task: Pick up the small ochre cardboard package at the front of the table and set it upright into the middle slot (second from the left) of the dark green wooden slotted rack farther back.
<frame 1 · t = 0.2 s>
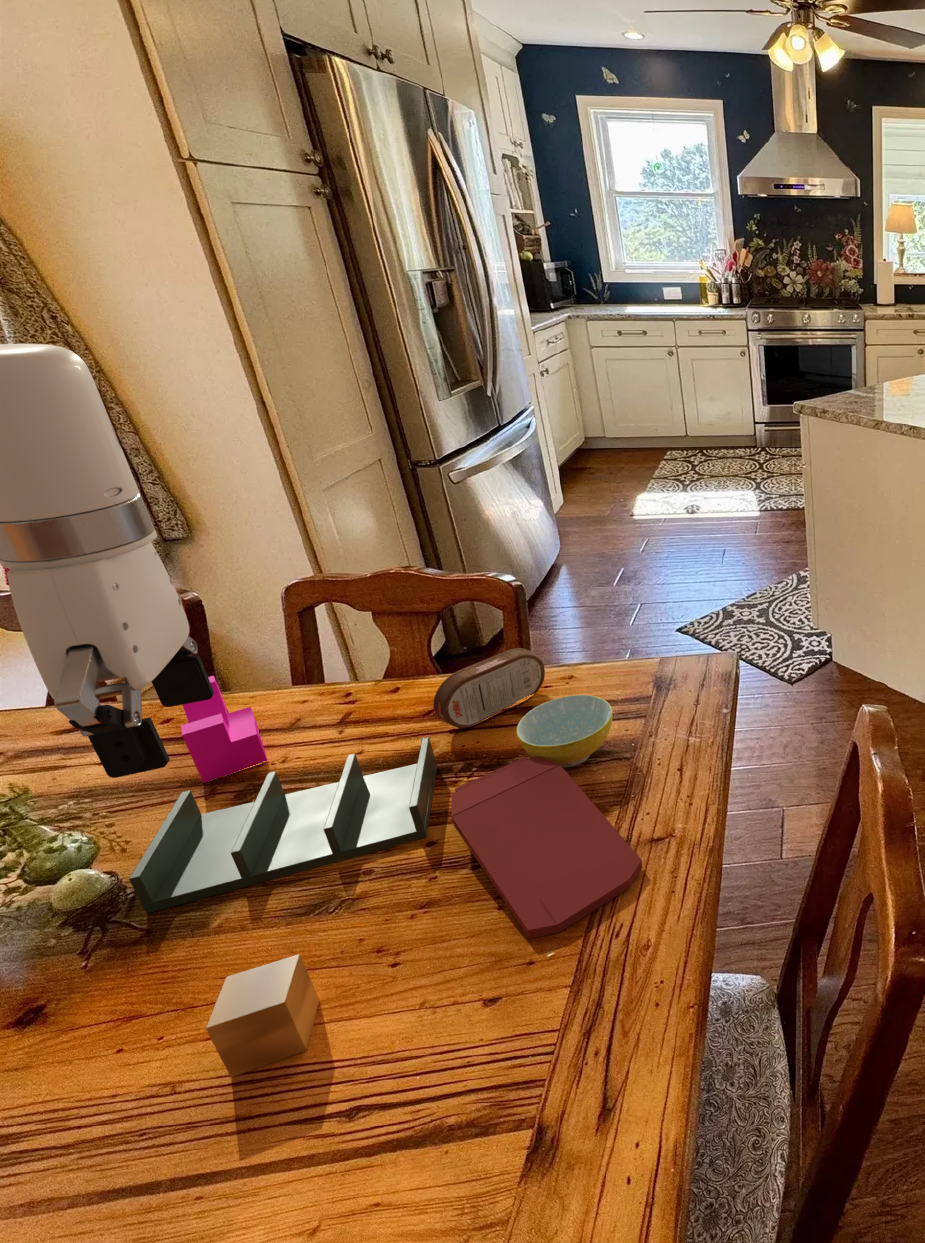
hand: (167, 733, 57), 28 cm above the table, tool pointing down, fingers open, 9 cm apart
package: (277, 1037, 63), on the table
bowl: (572, 758, 99), on the table
carton: (542, 850, 84), on the table
toy block: (231, 747, 99), on the table
tin: (499, 712, 108), on the table
rack: (310, 830, 85), on the table
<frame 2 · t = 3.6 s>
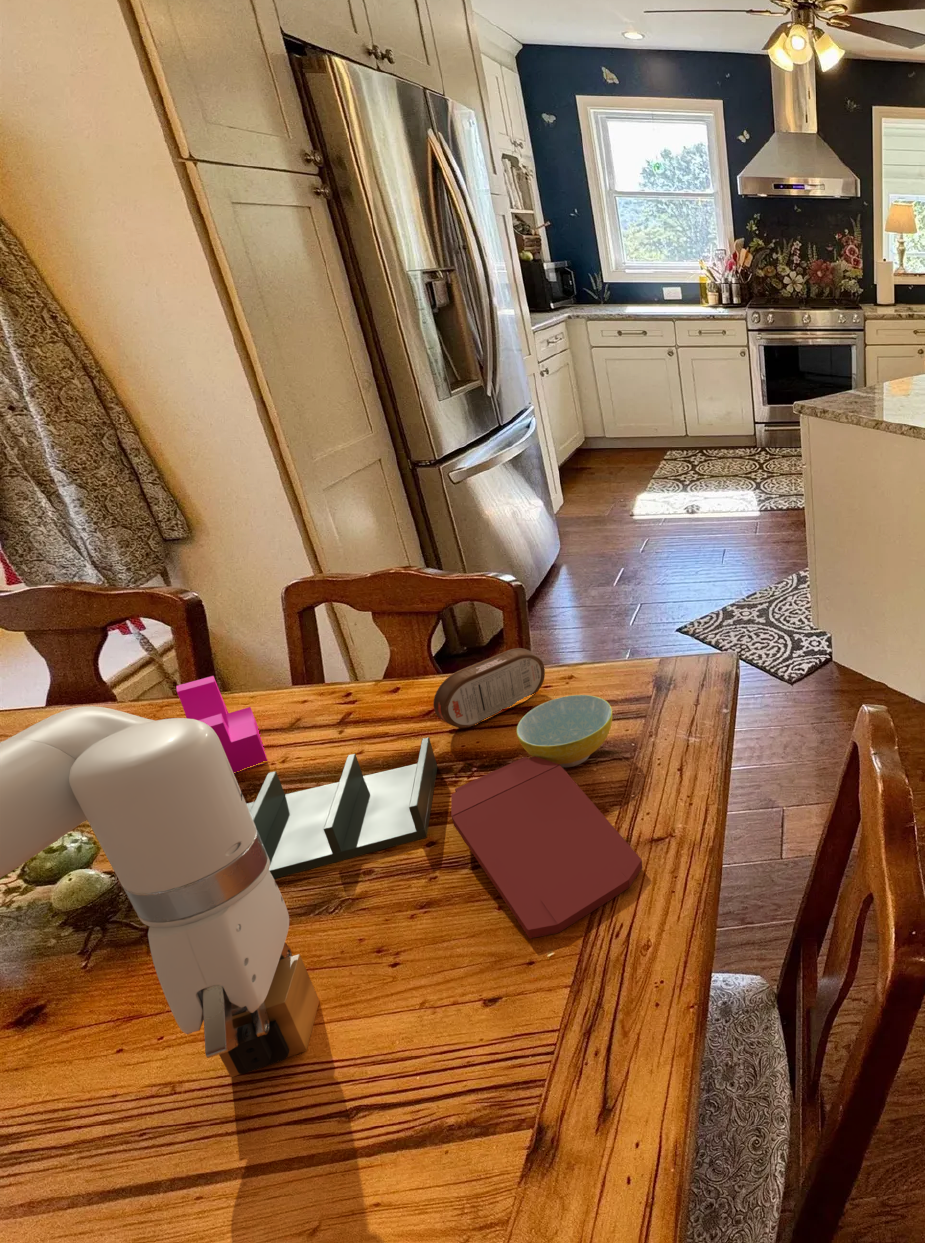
hand: (274, 1031, 63), 1 cm above the table, tool pointing down, fingers closed on package, 5 cm apart
package: (277, 1037, 63), on the table, touching gripper
everything else where it was.
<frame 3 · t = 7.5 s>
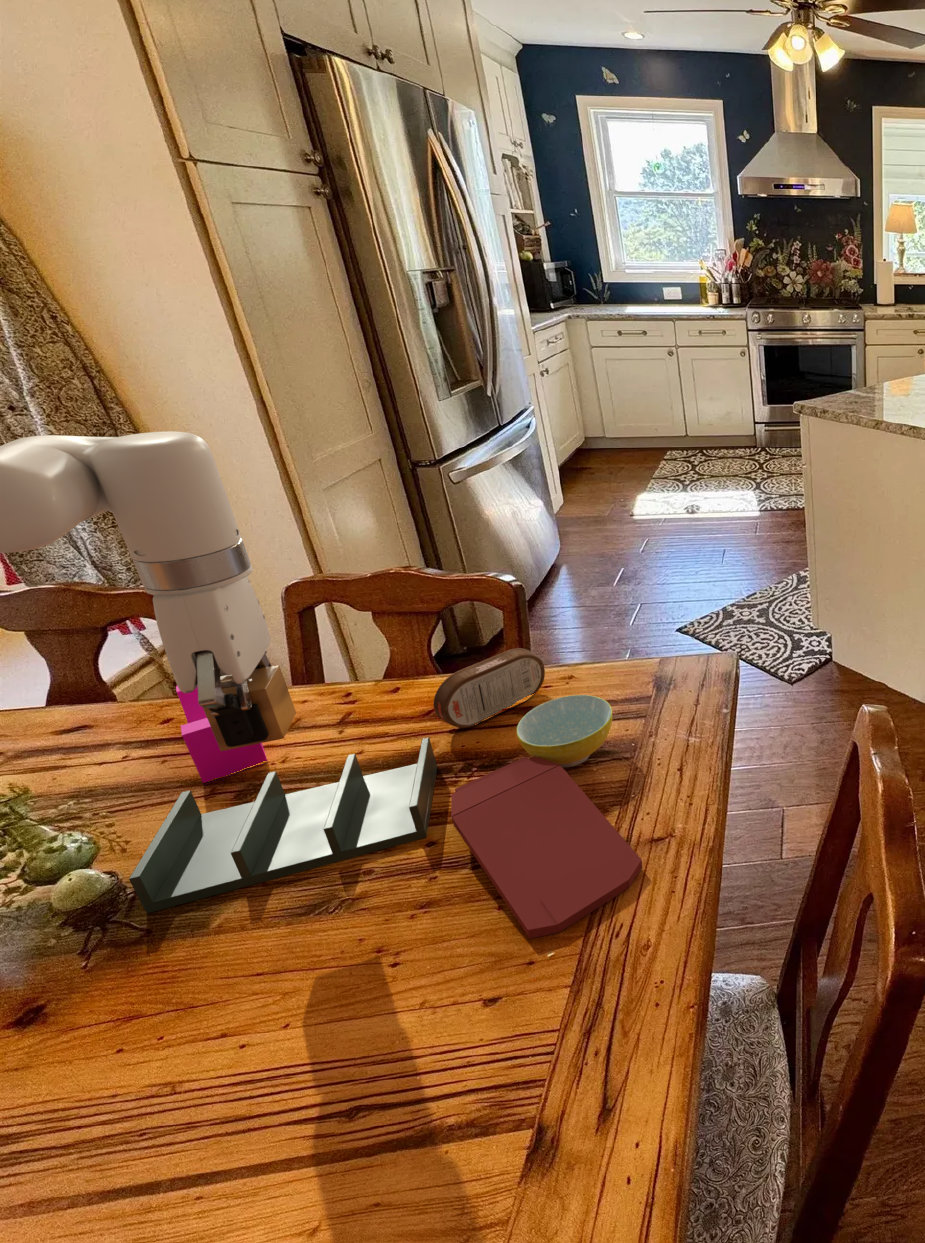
hand: (256, 724, 76), 17 cm above the table, tool pointing down, fingers closed on package, 5 cm apart
package: (260, 731, 76), point 16 cm above the table, touching gripper
everything else where it was.
when the fingers open (2 cm above the table, at t = 11.6 s): package stays where it is, resting on rack.
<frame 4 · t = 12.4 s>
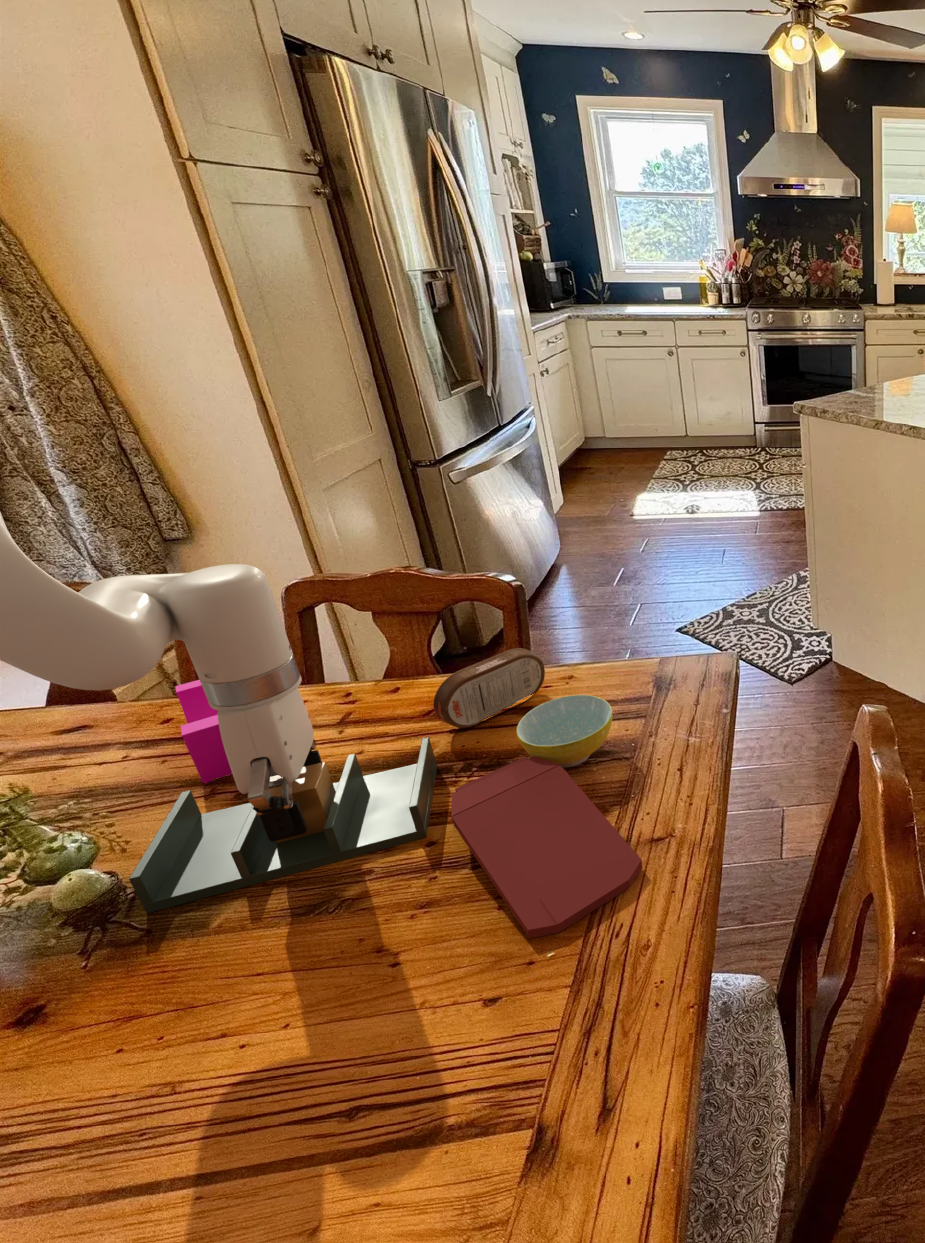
hand: (300, 807, 84), 3 cm above the table, tool pointing down, fingers open, 9 cm apart
package: (308, 822, 85), point 1 cm above the table, touching rack
everything else where it was.
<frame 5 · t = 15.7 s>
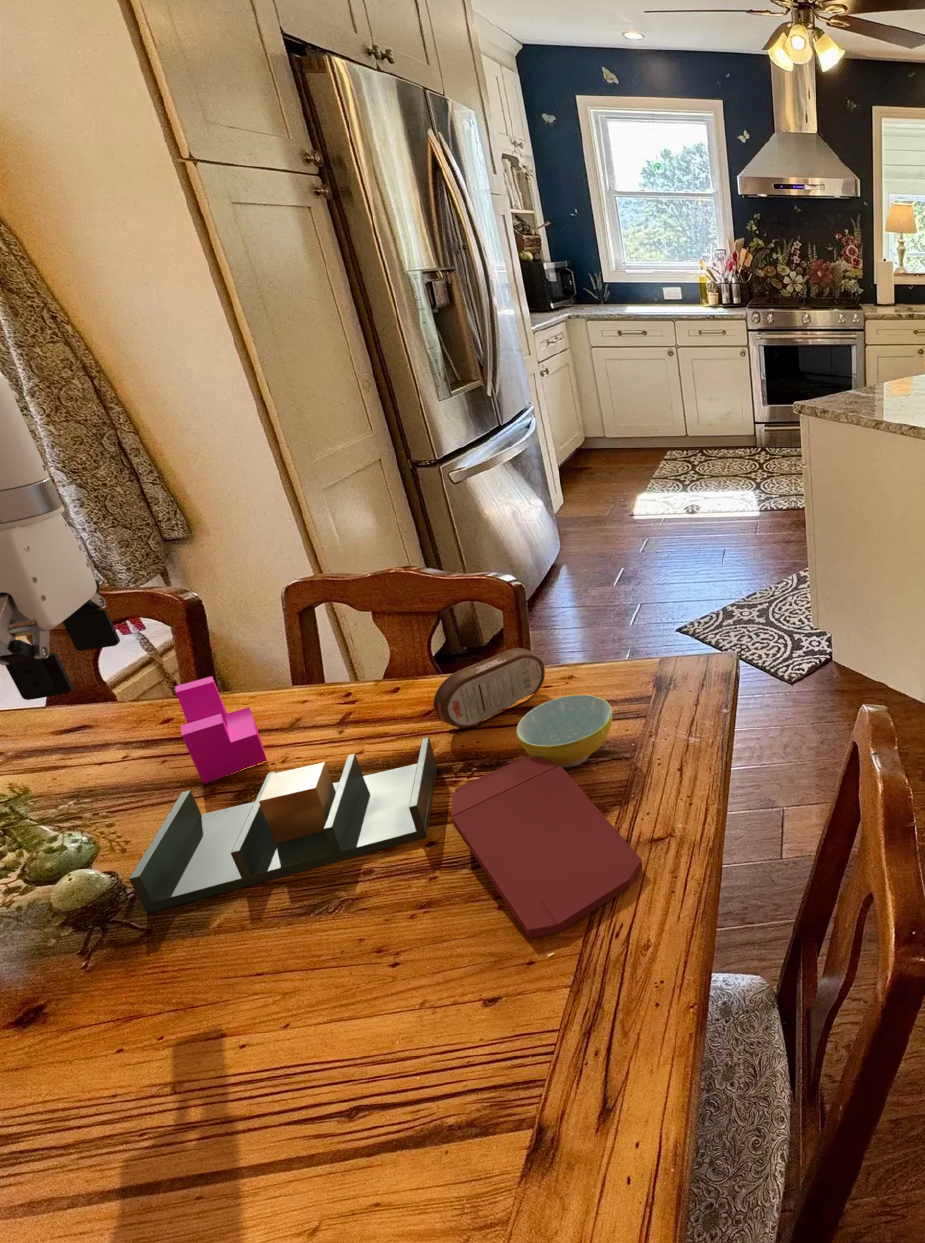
hand: (75, 669, 72), 24 cm above the table, tool pointing down, fingers open, 9 cm apart
nothing on the table moved.
at the end: package inside the target area on the rack (0.1 cm from its centre), point 1.2 cm above the rack's base; package tilted 0°; the gripper is holding nothing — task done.
